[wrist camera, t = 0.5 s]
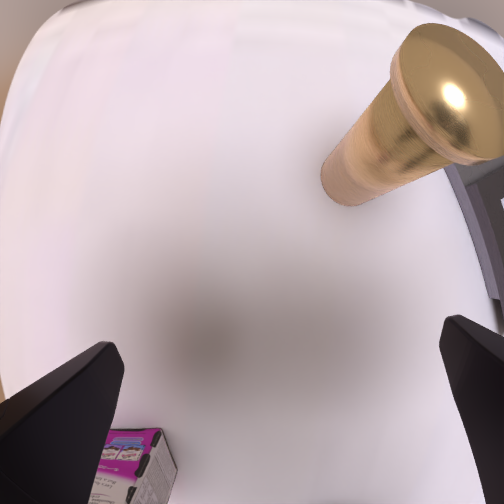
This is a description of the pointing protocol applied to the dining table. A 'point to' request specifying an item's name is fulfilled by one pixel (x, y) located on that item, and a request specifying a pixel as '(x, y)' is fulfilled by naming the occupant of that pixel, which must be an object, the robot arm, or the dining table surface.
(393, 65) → the brass pin
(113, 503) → the candy bar box
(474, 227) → the grey rectangular frame
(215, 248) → the dining table surface
